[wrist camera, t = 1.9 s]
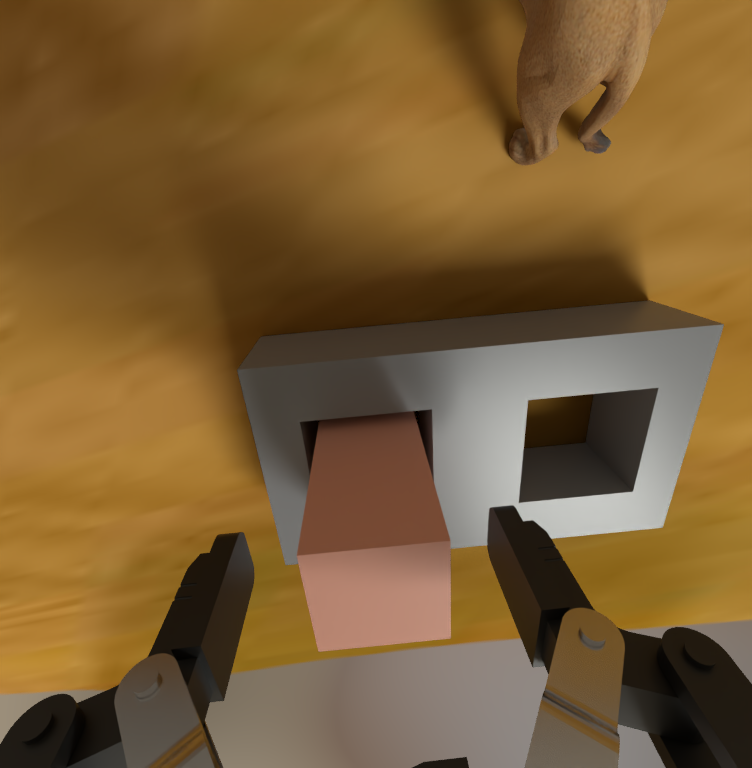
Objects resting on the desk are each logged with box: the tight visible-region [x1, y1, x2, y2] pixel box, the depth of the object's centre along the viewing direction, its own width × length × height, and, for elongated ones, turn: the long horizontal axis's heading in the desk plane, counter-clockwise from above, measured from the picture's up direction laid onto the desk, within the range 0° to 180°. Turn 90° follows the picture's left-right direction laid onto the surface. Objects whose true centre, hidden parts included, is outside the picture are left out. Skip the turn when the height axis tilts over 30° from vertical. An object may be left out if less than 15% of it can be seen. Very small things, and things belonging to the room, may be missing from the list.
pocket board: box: [237, 300, 724, 565], centre depth 18 cm, size 18×10×4 cm, turn 95°
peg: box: [297, 411, 451, 652], centre depth 15 cm, size 4×4×10 cm
